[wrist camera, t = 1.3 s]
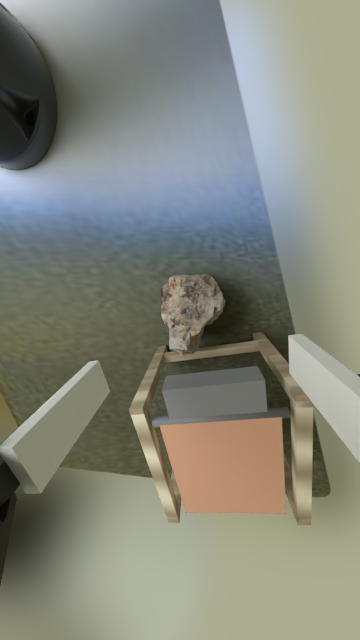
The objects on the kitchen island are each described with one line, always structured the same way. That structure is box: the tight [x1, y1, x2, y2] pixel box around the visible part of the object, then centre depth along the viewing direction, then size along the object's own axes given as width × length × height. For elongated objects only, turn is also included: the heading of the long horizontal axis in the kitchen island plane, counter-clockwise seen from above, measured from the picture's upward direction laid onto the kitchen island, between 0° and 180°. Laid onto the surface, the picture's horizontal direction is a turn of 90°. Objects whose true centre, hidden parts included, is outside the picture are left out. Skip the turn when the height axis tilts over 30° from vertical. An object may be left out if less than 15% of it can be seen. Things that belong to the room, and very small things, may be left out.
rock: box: [161, 274, 225, 356], centre depth 26 cm, size 9×12×10 cm
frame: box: [129, 332, 314, 525], centre depth 28 cm, size 20×18×15 cm
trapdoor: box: [152, 366, 291, 514], centre depth 22 cm, size 19×14×3 cm
